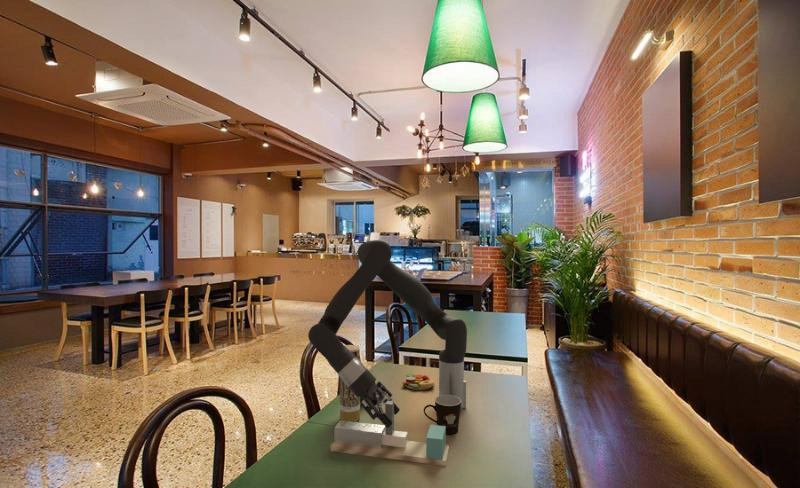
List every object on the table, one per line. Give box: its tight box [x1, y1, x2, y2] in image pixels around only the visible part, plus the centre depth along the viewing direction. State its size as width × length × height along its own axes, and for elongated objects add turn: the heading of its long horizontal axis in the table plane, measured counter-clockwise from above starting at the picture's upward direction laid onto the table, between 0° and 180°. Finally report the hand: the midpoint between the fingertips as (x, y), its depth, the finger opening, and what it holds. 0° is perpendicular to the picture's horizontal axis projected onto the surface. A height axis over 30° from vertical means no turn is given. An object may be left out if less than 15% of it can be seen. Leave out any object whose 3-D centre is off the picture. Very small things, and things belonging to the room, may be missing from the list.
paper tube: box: [339, 344, 361, 422], centre depth 135 cm, size 7×7×25 cm
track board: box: [330, 440, 450, 467], centre depth 116 cm, size 34×8×2 cm, turn 77°
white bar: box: [382, 400, 409, 448], centre depth 117 cm, size 19×3×12 cm, turn 77°
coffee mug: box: [423, 395, 462, 437], centre depth 128 cm, size 12×9×10 cm
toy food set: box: [402, 373, 435, 391], centre depth 167 cm, size 13×13×3 cm
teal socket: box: [425, 424, 447, 460], centre depth 112 cm, size 4×8×6 cm, turn 166°
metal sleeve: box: [333, 419, 385, 449], centre depth 118 cm, size 14×5×5 cm, turn 77°
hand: (394, 418), depth 115 cm, fingers open, 8 cm apart
